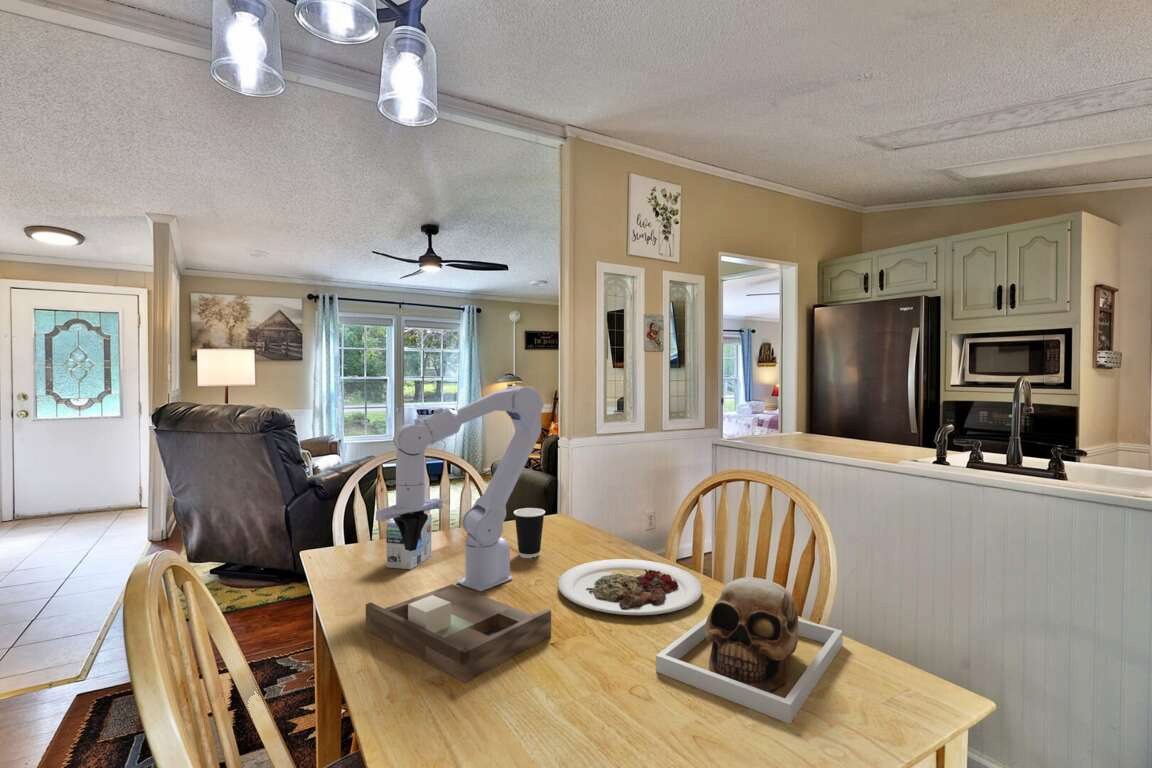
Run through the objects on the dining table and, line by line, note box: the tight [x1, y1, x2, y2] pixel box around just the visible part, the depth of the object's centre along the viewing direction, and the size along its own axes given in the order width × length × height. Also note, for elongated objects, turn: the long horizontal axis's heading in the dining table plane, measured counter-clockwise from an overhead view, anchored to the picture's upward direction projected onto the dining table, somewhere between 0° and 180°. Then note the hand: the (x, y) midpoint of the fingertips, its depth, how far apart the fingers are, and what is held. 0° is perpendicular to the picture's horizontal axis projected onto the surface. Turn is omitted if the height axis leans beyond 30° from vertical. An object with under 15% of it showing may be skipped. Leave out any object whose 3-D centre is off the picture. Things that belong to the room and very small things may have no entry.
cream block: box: [408, 595, 451, 633], centre depth 93 cm, size 5×5×4 cm
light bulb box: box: [385, 512, 433, 570], centre depth 133 cm, size 11×7×11 cm, turn 168°
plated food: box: [557, 558, 703, 616], centre depth 116 cm, size 30×30×3 cm
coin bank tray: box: [655, 614, 843, 725], centre depth 88 cm, size 27×20×2 cm
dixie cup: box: [513, 507, 546, 559], centre depth 138 cm, size 8×8×11 cm
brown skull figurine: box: [705, 576, 799, 693], centre depth 86 cm, size 16×18×14 cm
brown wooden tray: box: [365, 584, 552, 684], centre depth 96 cm, size 19×27×4 cm
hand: (410, 549), depth 112 cm, fingers closed
